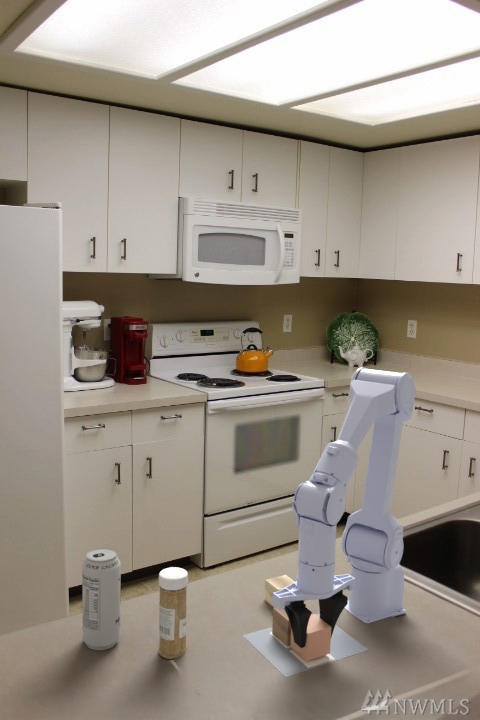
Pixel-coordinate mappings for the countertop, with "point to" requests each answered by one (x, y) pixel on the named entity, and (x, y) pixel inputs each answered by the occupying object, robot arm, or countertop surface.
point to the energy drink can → (101, 598)
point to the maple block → (275, 586)
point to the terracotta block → (314, 639)
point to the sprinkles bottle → (172, 612)
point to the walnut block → (281, 626)
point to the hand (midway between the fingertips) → (312, 640)
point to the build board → (293, 662)
